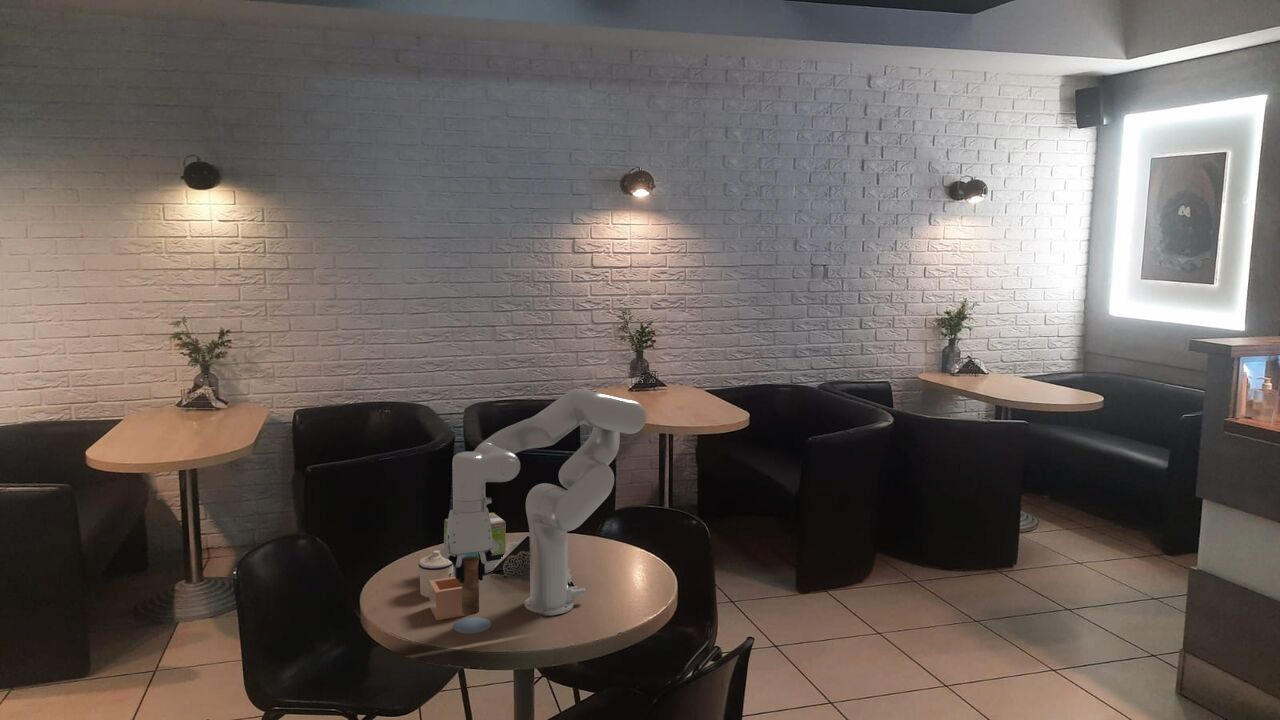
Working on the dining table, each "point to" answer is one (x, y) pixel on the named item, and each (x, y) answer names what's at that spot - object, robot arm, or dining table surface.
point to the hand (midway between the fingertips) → (470, 579)
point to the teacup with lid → (433, 570)
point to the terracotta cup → (446, 598)
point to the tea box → (497, 534)
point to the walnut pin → (470, 585)
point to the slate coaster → (472, 625)
